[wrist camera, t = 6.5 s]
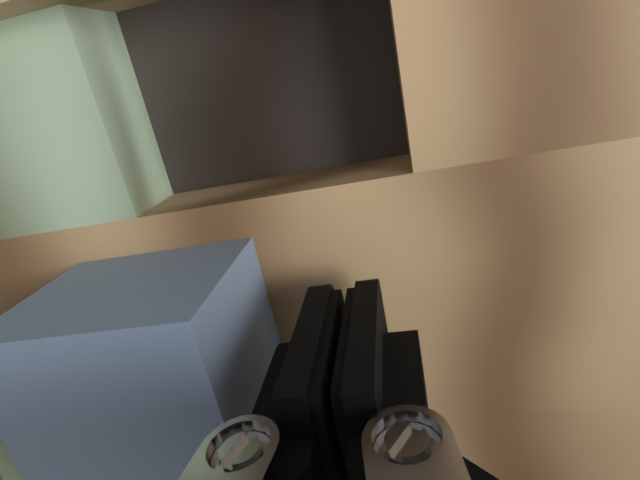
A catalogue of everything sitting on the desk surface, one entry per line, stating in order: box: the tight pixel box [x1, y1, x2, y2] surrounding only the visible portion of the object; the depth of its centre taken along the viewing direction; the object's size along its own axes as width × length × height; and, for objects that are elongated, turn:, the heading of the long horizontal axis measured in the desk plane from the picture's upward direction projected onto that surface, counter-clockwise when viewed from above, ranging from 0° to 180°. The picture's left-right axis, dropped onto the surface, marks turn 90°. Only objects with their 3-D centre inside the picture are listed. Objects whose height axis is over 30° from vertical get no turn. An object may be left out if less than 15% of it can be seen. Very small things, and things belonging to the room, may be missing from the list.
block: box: [0, 237, 281, 480], centre depth 11 cm, size 5×5×4 cm
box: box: [0, 0, 640, 480], centre depth 13 cm, size 23×18×4 cm
